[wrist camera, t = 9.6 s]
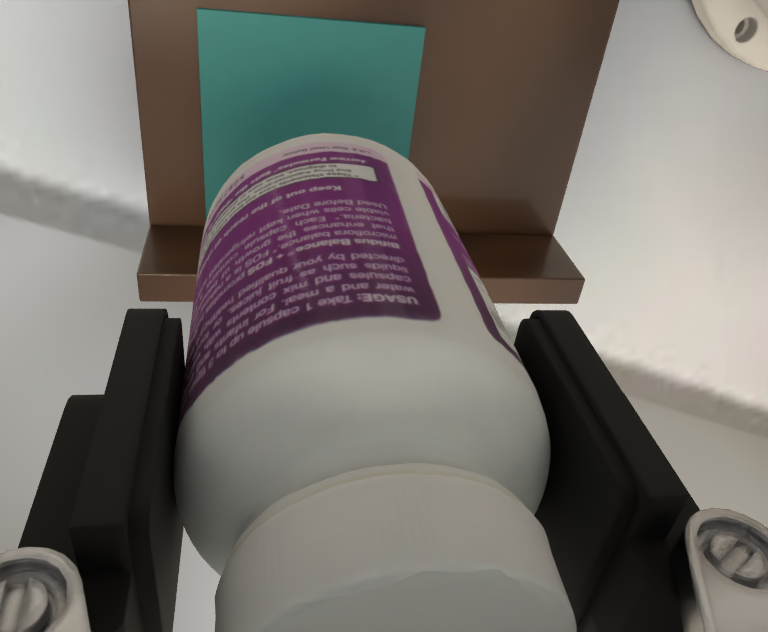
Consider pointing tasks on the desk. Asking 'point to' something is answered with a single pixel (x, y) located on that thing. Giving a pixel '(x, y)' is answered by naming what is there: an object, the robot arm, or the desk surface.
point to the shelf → (373, 114)
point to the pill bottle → (357, 410)
